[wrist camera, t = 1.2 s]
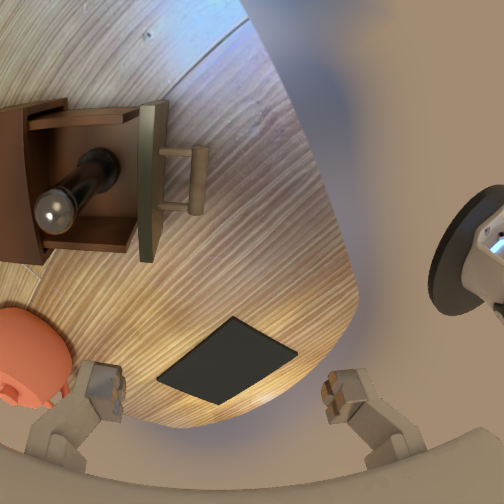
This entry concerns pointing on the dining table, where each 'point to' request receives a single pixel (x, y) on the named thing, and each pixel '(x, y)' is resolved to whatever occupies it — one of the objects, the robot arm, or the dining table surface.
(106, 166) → the domed metal post
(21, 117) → the cabinet
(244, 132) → the dining table surface
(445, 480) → the robot arm
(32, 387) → the teapot
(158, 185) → the drawer
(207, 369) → the mat
